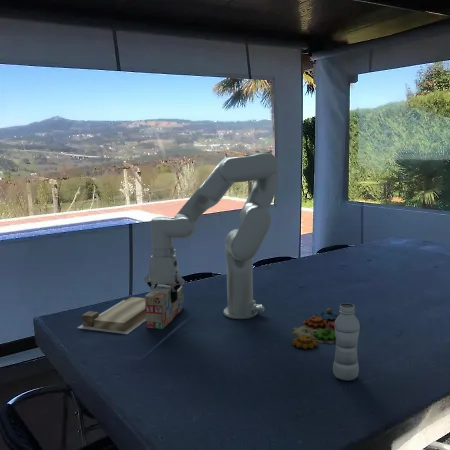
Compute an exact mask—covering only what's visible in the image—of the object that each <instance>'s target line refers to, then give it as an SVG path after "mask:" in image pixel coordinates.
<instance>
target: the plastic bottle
mask: <svg viewBox="0 0 450 450" xmlns="http://www.w3.org/2000/svg"><path fill="white" fill-rule="evenodd" d="M355 307H356V306H355V305H354V304H353V303H349V302H344V303H340V304H339V311H338V312H339V315H337V319H336V320H335V323H334V330H335V337H336V339H335V353H334V360H333V363H332V371H333V375H334V376H335V377H336V379H339V380H341V381H354V380H356V378H357V377H358V376H359V372H360V366H359V361H358V360H359V359H358V344H359V343H358V341H359V337H360V336H359V334H360V329H361V325H360V321H359V320H358V318H357V316H356V315H355V313H356V310H355V309H356V308H355Z"/></svg>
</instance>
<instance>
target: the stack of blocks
mask: <svg viewBox="0 0 450 450" xmlns="http://www.w3.org/2000/svg"><path fill="white" fill-rule="evenodd" d="M171 292H172V289H171V287H170V285H166V284H158V286H157V287H156V288H155V289H153V290H151V291H150V292H148V293H147V294H146V295H145V296H144V298H145V309H146V321H145V326H146V328H148V329H159V330H160V329H161V330H164V328H166V326H168V325H169V323H171V322H172V321H173V319H174V318H175V317H176V316H177V315H178V314H179V313H180V312H182V310H183V309H184V307H185V306H184V304H185V302H184V300H185V299H184V287H183V286H181V287H180V288H179V289H178V290H177V300H176V301H175V302H174V303H172V302H171Z"/></svg>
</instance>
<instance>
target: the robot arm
mask: <svg viewBox="0 0 450 450" xmlns="http://www.w3.org/2000/svg"><path fill="white" fill-rule="evenodd" d="M279 165H280V164H279V161H278V158H277V157H276V156H275V155H274V154H272V153H270V152H257V153H253V155H247V156H246V155H245V156H244V155H243V156H236V157H233V156H228V157H225V158H222V160H220V162H218V164H217V165H216V166H215V167H214V169H212V172H211V173H210V174H209V175H208V176H207V177H206V179H205V180H204V181H203V183H202V184H200V186H199V187H198V188H197V190H196V191H194V193H193V194H192V195H191V197H189V199H188V200H187V201H186V202H185V203H184V204H183V205H182V206H181V208H180V209H179V211H178V212H177V213H176V215H175V216H174V217H173V218H170V217H167V216H157V217H154V218H152V219H151V220H150V234H151V235H150V236H151V237H150V238H151V256H150V257H149V258H150V259H149V267H148V274H146V275H145V277H143V280H144V282H145V283H147V286H148V287H149V288H150V290H151V291H152V290H153V289H155V288H156V287H157V286H158V285H168V286H170V287H171V289H172V292H171V302H172V303H174V302H175V301H176V300H177V290H178V289H179V288H180V287H181V286H182V285H184V284H185V282H186V280H185V279H184V278H182V276H181V275H180V270H179V264H178V259H177V255H176V254H177V253H178V252H177V251H178V250H177V249H175V247H174V239H188V238H191V237H192V236H193V235H194V233H195V232H196V231H195V230H196V227H195V224H196V223H197V222H198V220H199V219H200V218H201V216H202V215H203V214H204V213H205V212H206V211H208V210H209V209H211V208H213V207H215V206H216V205H217V204H219V202H220V201H221V200H222V198H223V197H225V195H226V193H227V192H228V191H229V190H230V189H231V187H232V186H233V185H234V184H235V183H244V182H245V183H247V182H252V181H253V185H252V188H251V191H250V192H249V195H248V197H247V199H246V201H245V202H244V205H243V206H242V209H241V210H240V212H239V221H240V223H241V224H240V225H239V227H238V228H235V229H232V230H231V231H229V232H228V233H227V234H226V237H225V240H224V250H225V251H224V252H225V261H226V263H225V264H226V291H227V293H226V296H227V299H226V302H227V306H226V307H225V308H224V309H223V315H224V316H225V317H227V318H229V319H235V320H245V319H251V318H253V317H256V316H257V315H258V313H259V312H260V313H261V312H262V313H264V311H265V306H263V304H257V303H256V300H255V299H254V284H253V283H254V282H253V281H254V279H253V277H254V275H253V258H254V257H255V256H256V255H257V253H258V251H259V249H260V247H261V245H262V243H263V242H264V240H265V238H266V235H267V234H268V232H269V230H270V227H271V222H272V216H271V212H270V211H269V210H270V207H271V206H272V203H273V200H274V197H275V196H276V194H277V190H278V177H277V172H278V171H279ZM177 282H178V283H177ZM182 287H183V286H182Z"/></svg>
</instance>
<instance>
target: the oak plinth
mask: <svg viewBox="0 0 450 450" xmlns="http://www.w3.org/2000/svg"><path fill="white" fill-rule="evenodd" d="M124 300H125V301H124V302H122V303H120V304H119V305H117V306H115V307H114V308H112V309H111V310H109V311H107V312H106V313H104V314H102V315H101V316H99V317H97V318H96V319H94V328H99V329H107V330H115V331H123V332H125V331H126V330H127V329H129V328H130V327H132V326H133V325H134V324H136V323H137V322H139V321H140V320H141V319H143V318H144V317H146V309H145V297H136V296H131V297H128V299H124Z"/></svg>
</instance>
